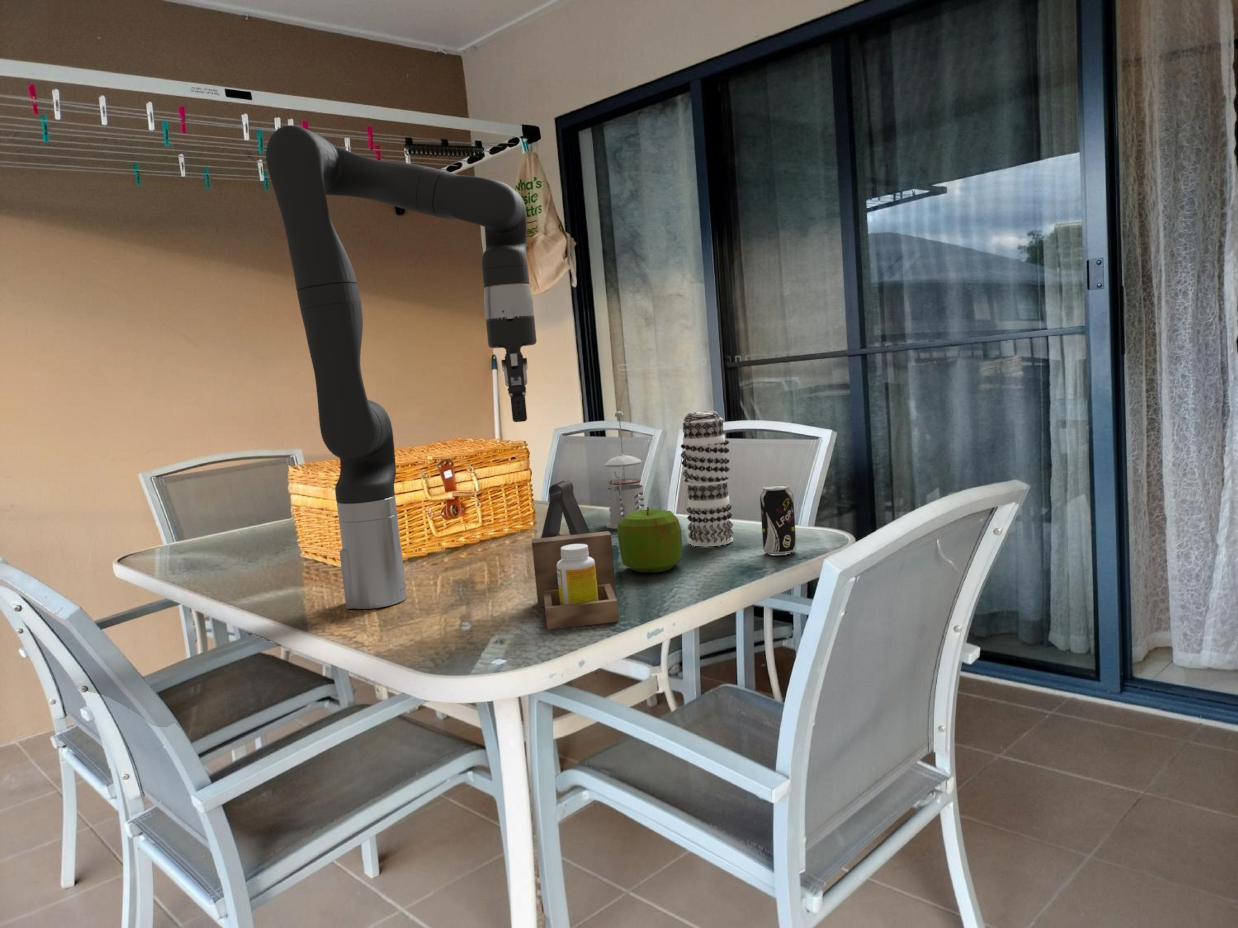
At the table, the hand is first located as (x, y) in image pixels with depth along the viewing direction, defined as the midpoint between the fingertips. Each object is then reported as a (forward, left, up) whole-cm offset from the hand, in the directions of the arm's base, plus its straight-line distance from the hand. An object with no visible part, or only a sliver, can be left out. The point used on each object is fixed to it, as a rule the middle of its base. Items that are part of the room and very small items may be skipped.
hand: (519, 419), depth 142 cm
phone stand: (+7, +42, -28) cm, 51 cm away
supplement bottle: (+6, -15, -28) cm, 33 cm away
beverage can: (+43, +9, -28) cm, 52 cm away
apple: (+20, +8, -28) cm, 36 cm away
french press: (+21, +51, -28) cm, 62 cm away
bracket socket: (+6, -13, -28) cm, 32 cm away
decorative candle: (+34, +24, -28) cm, 50 cm away
